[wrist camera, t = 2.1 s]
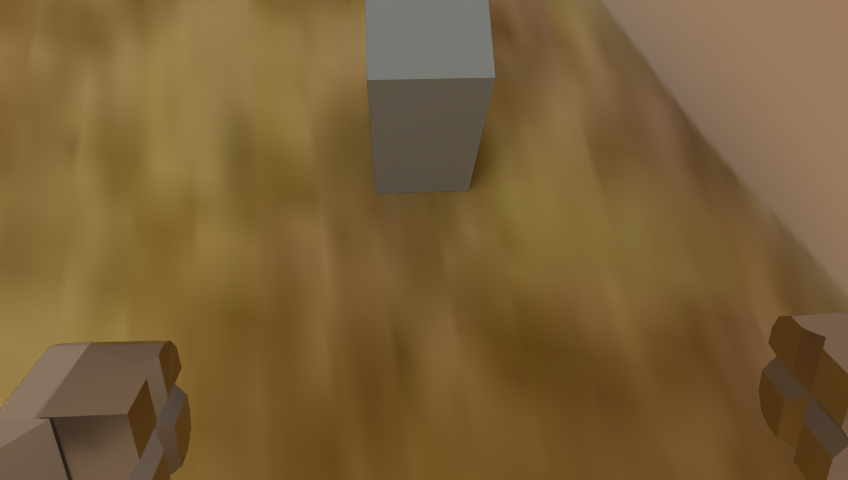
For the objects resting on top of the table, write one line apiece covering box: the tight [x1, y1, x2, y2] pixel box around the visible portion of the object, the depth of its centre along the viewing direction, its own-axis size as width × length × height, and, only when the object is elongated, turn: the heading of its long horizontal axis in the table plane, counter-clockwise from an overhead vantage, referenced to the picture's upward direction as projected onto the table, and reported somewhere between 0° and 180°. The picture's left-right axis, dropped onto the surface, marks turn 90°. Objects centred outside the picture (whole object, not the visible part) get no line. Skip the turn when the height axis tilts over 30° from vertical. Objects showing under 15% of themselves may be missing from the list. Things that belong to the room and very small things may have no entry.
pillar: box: [365, 0, 495, 194], centre depth 27 cm, size 4×4×9 cm
